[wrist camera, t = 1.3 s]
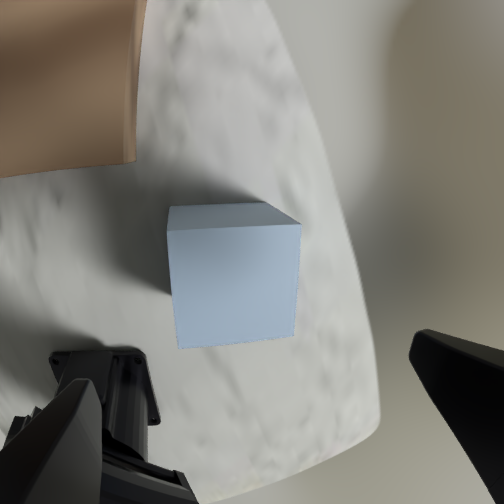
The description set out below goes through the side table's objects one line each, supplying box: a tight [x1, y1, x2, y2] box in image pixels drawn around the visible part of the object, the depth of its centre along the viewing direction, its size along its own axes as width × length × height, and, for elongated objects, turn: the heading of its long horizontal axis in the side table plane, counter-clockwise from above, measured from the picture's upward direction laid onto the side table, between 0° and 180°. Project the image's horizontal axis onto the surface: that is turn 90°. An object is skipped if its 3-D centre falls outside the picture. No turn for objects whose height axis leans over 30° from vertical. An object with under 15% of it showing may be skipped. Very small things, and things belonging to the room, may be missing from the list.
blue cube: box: [167, 202, 302, 349], centre depth 14 cm, size 5×5×5 cm
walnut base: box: [0, 0, 147, 178], centre depth 10 cm, size 10×10×4 cm
